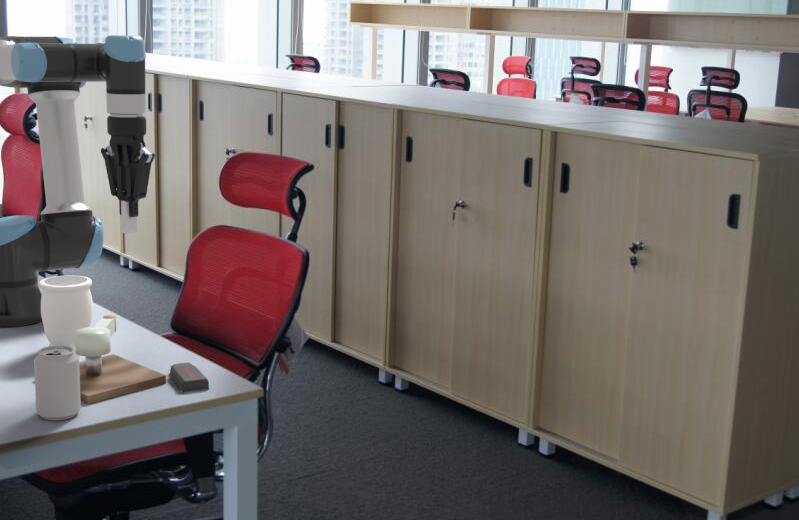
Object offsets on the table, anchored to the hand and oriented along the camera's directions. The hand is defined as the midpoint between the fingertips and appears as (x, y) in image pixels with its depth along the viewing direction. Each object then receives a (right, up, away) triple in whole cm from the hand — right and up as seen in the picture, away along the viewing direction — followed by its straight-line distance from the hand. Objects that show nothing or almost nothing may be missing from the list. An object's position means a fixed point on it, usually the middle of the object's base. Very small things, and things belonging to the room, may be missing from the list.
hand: (129, 232), depth 213 cm
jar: (-15, -25, +9) cm, 30 cm away
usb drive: (+13, -30, -8) cm, 33 cm away
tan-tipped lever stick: (-4, -22, -6) cm, 23 cm away
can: (-6, -33, -27) cm, 43 cm away
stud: (-4, -28, -10) cm, 30 cm away
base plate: (-3, -29, -10) cm, 31 cm away
